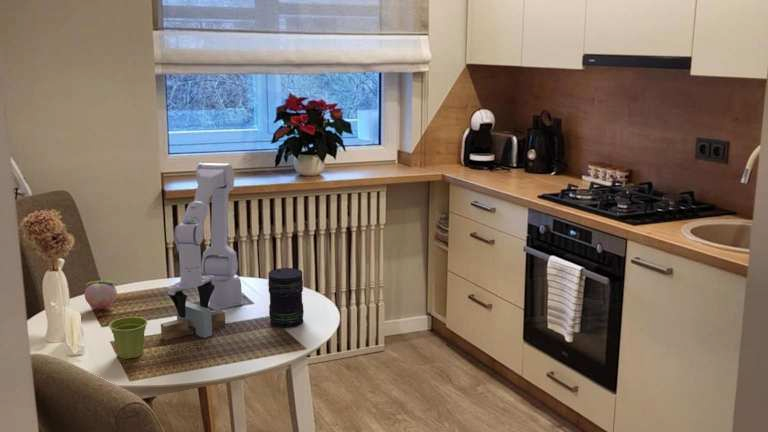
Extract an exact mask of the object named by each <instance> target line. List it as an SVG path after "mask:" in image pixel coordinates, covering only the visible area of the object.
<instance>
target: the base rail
mask: <svg viewBox="0 0 768 432" xmlns="http://www.w3.org/2000/svg"><path fill="white" fill-rule="evenodd" d="M211 320H212V330H213V329H216V328H217V329H218V328H220V327H224V326H226V312H225V311H223V309H221V310H214V311H211ZM192 334H196V328H194V327H192V326H188V320H186V319H185V318H183V319H179V320H177V319H175V320H172V321H171V320H170V321H166V322H163V323H160V335H161V338H162V339H163V340H164V341H168V340H169V341H170V340H172V339H176V338H181V337H183V336H188V335H192Z"/></svg>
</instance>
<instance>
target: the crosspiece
mask: <svg viewBox="0 0 768 432" xmlns="http://www.w3.org/2000/svg"><path fill="white" fill-rule="evenodd" d="M185 309H186V315H185V317H184V318H185V319H186V320H188V326H192V327H194V328H196V333H195V335H196V336H199V337H201V338H204V339H206V338H209V337H211V336H213V329H212V320H211V312H212V308H209V307H208V308H205V307H202V306H200V304H199V305H198V304H196V303H193V302H189V301H187V300H186V305H185ZM175 310H176V320H179V319H183V318H182V317H179V315H178V312H177V309H176V308H175Z"/></svg>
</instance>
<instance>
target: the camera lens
mask: <svg viewBox="0 0 768 432" xmlns="http://www.w3.org/2000/svg"><path fill="white" fill-rule="evenodd" d="M267 273H268V283H267V284H268V285H267V286H268V293H269V305H268V306H269V307H268V310H269V311H268V312H269V313H268V315H269V316H268V317H269V324H270V326H272V327H274V328H276V329H293V328H297V327H301V326H302V325H303V324H304V311H305V310H304V303H303V289H304V288H303V287H304V281H303V271H302V270H300V269H298V268H292V267H282V268H280V267H279V268H276V269H272V270H270V271H268V272H267Z"/></svg>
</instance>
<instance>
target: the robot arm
mask: <svg viewBox="0 0 768 432" xmlns="http://www.w3.org/2000/svg"><path fill="white" fill-rule="evenodd" d="M195 178H196V182H197V188H196V192H195V195H194V200H193V201H190V203H189V204H188V205H187V208H186V210H185V213H184V215H183V218H182V221H181V223H179V224H177V225H176V226H175V228H174V235H173V239H174V242H175V245H176V250H177V252H178V258H179V275H180V277H179V278H180V279H179V281H178V282H176V283H174V284H172V285H170V286H167V287H166V288H167V294H168V296H169V298H170V299H171V301H172V303H173V304H174V306H175V310H176V309H177V312H178V315H179V317H182V318H184V317H185V315H186V309H185V305H186V301H187V298H188V295H187V294H185V293H184V291H189V290H191V289H195V288H197V291H198V295H199V296H198V297H199V306H202V307H205V308H208V309H211V310H214V311H217V310H225V309H229V308H234V307H236V306H237V307H238V306H241V305H243V304H244V302H243V296H242V295H243V294H242V293H243V292H242V281H241V278H240V277H239V275H238V274H237V273H238V268H239V267H238V266H239V264H238V259H237V258H238V257H237V252H236V251H235V250H234V249H233V248H232V247H230V246H229V244H228V235H229V234H228V233H229V232H228V230H229V227H228V225H229V224H228V223H229V194H230V192H231V191H233V190H234V185H235V170H234V168H233V165H232V164H231V163H230V162H229V163H213V162H212V163H211V162H209V163H206V162H205V163H204V162H199V163H198V165H197V166H196V169H195ZM210 199H211V228H210V230H211V233H210V235H211V237H210V245H211V246H209V247H208V248H207V249H205V250H204V251H203V253H202V256H201V252H202V251H201V244H202V242H203V240H204V231H205V226H204V225H205V223H206V219H207V216H208V213H209V209H208V206H207V205H208V203H209V201H210ZM177 312H176V313H177Z"/></svg>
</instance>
